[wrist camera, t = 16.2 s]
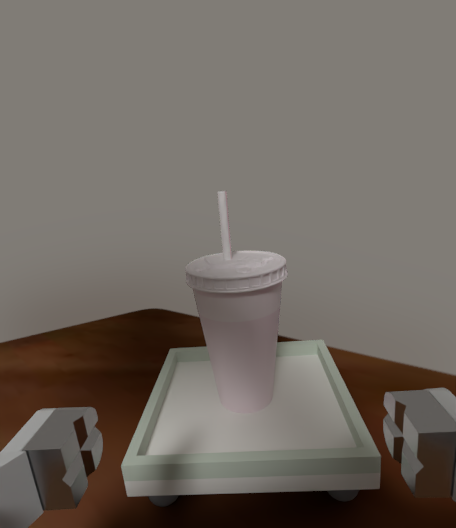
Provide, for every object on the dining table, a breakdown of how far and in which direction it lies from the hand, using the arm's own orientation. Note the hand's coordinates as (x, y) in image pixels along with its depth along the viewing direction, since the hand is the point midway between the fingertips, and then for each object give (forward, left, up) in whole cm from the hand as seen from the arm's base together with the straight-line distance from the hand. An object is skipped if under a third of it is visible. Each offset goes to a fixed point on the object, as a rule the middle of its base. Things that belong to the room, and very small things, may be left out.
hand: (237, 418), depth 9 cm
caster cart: (0, +12, -11) cm, 16 cm away
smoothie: (0, +12, -8) cm, 15 cm away
